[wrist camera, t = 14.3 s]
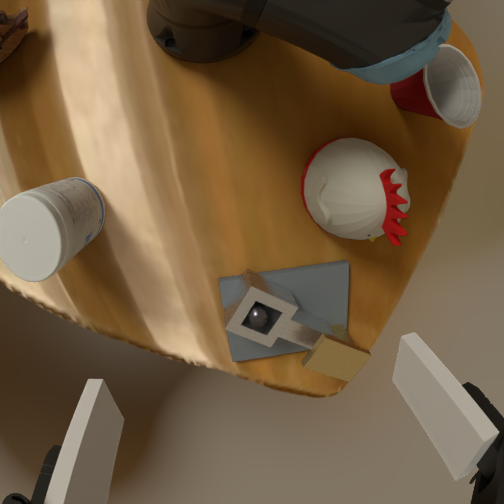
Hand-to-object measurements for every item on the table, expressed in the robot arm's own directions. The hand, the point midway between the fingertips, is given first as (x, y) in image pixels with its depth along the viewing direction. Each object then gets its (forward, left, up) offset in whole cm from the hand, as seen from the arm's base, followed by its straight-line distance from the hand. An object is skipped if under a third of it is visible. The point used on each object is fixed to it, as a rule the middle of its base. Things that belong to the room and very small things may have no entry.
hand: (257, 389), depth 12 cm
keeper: (+19, +12, -31) cm, 38 cm away
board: (+16, +7, -32) cm, 36 cm away
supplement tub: (-4, -21, -32) cm, 38 cm away
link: (+15, +6, -30) cm, 34 cm away
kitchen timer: (-2, +17, -32) cm, 36 cm away
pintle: (+12, +2, -31) cm, 33 cm away
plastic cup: (-16, +28, -32) cm, 45 cm away
